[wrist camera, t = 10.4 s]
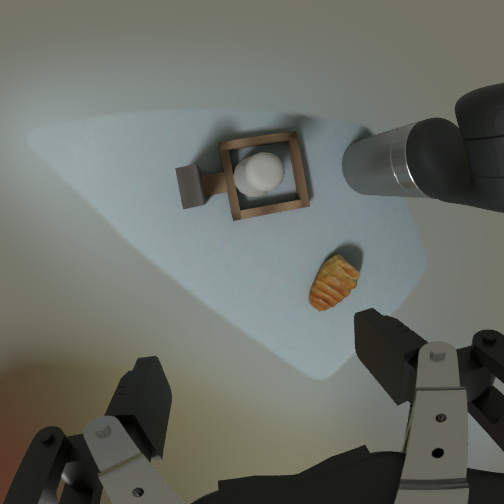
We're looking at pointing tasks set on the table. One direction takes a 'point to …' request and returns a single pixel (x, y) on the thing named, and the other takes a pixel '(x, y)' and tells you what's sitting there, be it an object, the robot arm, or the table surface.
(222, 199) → the table surface
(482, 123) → the robot arm
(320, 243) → the table surface
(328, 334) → the table surface
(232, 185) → the frame
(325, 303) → the pastry
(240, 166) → the salt shaker
